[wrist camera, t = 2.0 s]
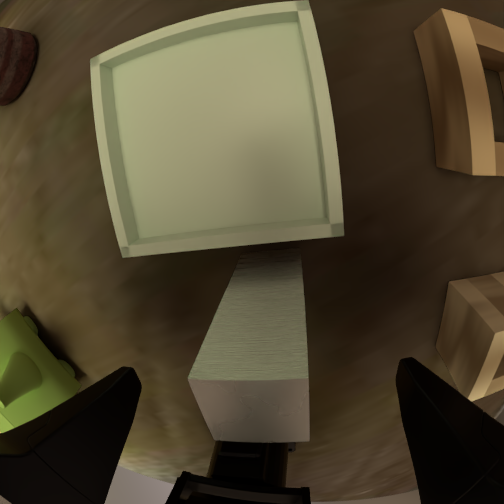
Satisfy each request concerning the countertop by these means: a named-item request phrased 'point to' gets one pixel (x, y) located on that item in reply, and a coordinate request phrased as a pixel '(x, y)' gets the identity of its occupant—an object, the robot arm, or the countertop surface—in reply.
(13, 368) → the kettle
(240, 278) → the grey wood bar
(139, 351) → the countertop surface
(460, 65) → the oak block
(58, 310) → the countertop surface
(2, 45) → the can
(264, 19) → the tray
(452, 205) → the countertop surface
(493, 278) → the beech block
